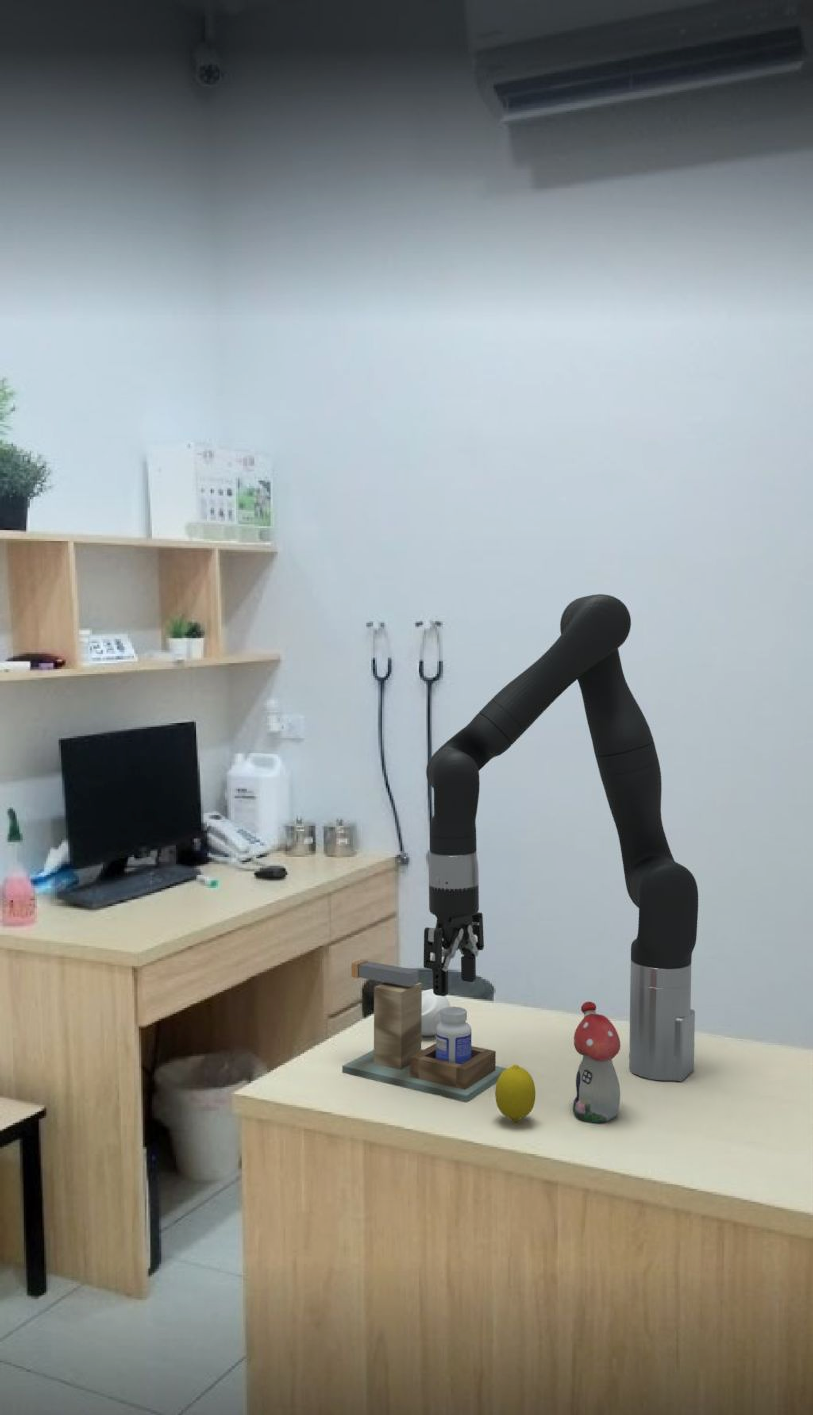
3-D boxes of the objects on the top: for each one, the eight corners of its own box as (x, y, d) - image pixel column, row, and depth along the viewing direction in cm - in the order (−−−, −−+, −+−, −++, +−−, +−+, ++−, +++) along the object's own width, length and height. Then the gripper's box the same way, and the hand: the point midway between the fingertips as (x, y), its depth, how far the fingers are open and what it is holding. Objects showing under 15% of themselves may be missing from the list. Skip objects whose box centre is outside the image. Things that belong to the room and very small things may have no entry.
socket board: (507, 1074, 176) (508, 991, 175) (466, 1102, 165) (467, 1013, 164) (388, 1048, 187) (388, 969, 187) (342, 1072, 176) (342, 988, 176)
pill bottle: (472, 1067, 176) (472, 1005, 175) (470, 1080, 170) (471, 1016, 170) (436, 1066, 176) (437, 1004, 176) (434, 1078, 171) (434, 1014, 171)
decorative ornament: (572, 1098, 166) (573, 997, 166) (617, 1101, 165) (619, 999, 165) (573, 1124, 157) (574, 1016, 156) (621, 1127, 156) (622, 1019, 156)
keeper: (419, 983, 178) (419, 969, 178) (409, 987, 175) (409, 973, 175) (361, 972, 184) (361, 959, 183) (351, 976, 181) (351, 963, 181)
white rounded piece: (401, 1028, 197) (401, 984, 197) (443, 1025, 199) (443, 982, 199) (412, 1044, 190) (412, 998, 189) (456, 1040, 191) (456, 995, 191)
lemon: (540, 1118, 159) (541, 1061, 159) (527, 1132, 154) (528, 1074, 154) (503, 1111, 162) (503, 1055, 161) (489, 1125, 157) (489, 1068, 156)
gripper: (451, 892, 164) (453, 1004, 165) (497, 875, 176) (498, 979, 177) (407, 887, 168) (409, 996, 169) (455, 871, 180) (456, 973, 181)
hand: (455, 987), depth 173 cm, fingers open, 8 cm apart
